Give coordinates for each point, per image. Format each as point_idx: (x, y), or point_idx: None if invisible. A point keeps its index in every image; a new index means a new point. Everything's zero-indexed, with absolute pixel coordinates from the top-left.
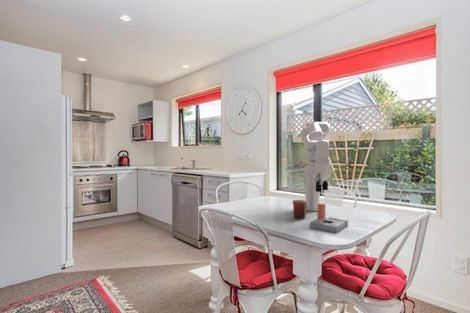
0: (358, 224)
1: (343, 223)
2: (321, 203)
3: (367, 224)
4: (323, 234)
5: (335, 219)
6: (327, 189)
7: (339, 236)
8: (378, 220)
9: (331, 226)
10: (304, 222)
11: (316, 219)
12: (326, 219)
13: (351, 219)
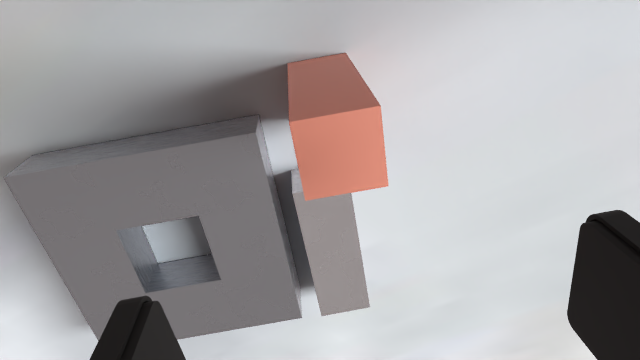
0: (434, 301)
1: (249, 323)
2: (377, 133)
3: (474, 328)
4: (4, 294)
5: (305, 245)
6: (583, 334)
7: (73, 356)
8: None
9: (91, 321)
10: (125, 5)
11: (145, 155)
12: (229, 209)
13: (557, 215)
